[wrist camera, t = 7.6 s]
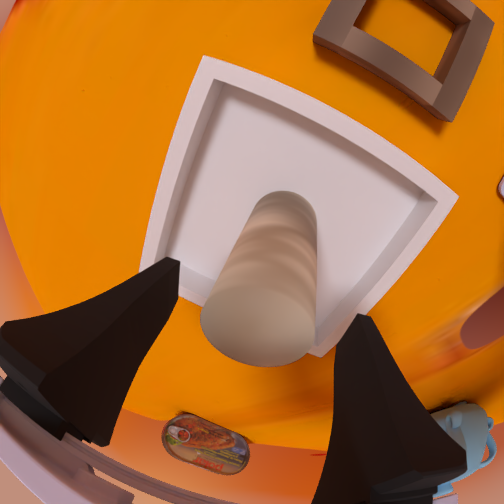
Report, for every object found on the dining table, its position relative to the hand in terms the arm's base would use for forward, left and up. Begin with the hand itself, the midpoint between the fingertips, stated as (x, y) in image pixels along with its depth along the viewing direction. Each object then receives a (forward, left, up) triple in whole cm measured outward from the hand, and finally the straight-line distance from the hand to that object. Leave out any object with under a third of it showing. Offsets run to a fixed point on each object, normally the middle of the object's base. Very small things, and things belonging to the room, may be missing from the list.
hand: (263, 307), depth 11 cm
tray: (0, 0, -9) cm, 9 cm away
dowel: (0, 0, -8) cm, 8 cm away
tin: (-7, +38, -9) cm, 40 cm away
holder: (-1, -15, -9) cm, 17 cm away
